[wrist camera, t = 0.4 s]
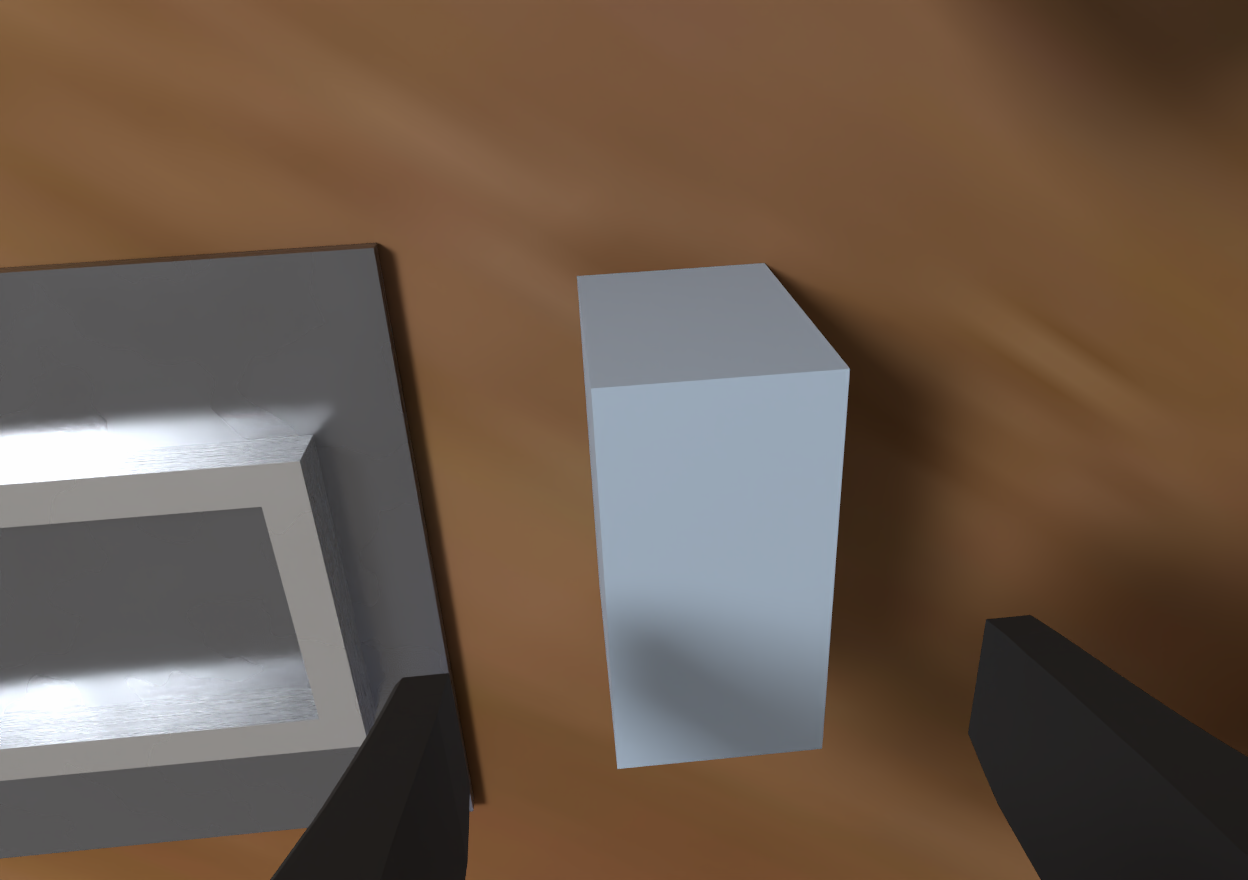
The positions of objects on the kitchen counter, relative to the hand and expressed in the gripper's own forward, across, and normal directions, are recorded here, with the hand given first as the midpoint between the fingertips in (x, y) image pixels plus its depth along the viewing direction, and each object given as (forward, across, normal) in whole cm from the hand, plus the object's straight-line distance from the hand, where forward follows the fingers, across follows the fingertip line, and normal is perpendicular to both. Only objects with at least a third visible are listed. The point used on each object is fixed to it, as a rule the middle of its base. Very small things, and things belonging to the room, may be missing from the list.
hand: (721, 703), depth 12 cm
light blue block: (+10, -1, +1) cm, 10 cm away
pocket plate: (+9, +13, +4) cm, 17 cm away
